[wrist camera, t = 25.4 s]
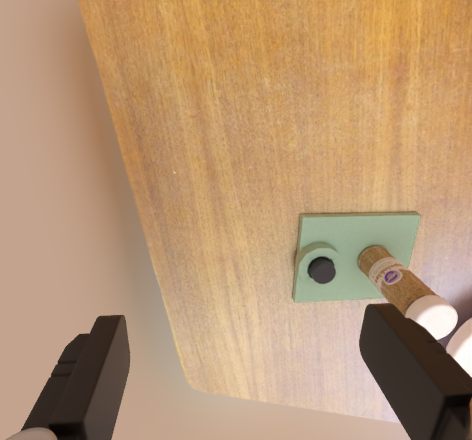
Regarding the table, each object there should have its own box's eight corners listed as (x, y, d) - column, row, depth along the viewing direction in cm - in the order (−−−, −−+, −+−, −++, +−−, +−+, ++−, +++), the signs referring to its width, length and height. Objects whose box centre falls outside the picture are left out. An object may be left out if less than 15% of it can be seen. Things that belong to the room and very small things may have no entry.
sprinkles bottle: (371, 238, 43) (439, 298, 31) (395, 254, 45) (469, 317, 32) (349, 264, 45) (406, 332, 32) (372, 278, 46) (436, 349, 33)
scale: (289, 297, 47) (294, 310, 44) (296, 214, 42) (303, 222, 40) (396, 293, 49) (408, 305, 46) (415, 211, 44) (430, 220, 41)
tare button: (307, 277, 43) (311, 284, 41) (309, 257, 42) (314, 264, 40) (329, 276, 43) (334, 283, 42) (332, 256, 42) (337, 263, 41)
